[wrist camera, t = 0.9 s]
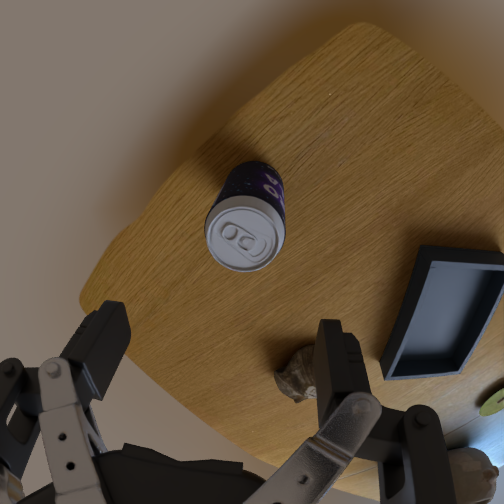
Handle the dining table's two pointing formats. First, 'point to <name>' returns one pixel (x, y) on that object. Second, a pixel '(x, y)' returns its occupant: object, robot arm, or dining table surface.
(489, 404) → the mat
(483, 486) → the bowl
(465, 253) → the dark blue tray
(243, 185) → the beverage can
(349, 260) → the dining table surface
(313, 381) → the fossilized seashell
